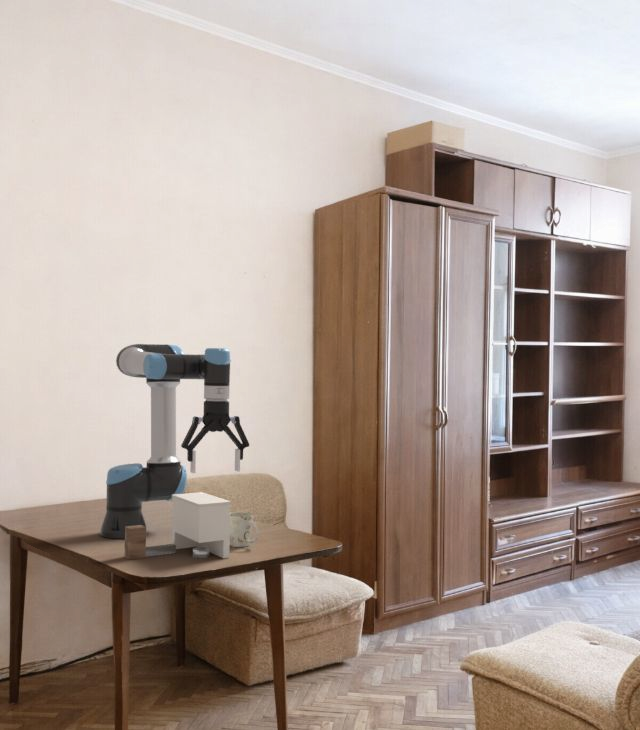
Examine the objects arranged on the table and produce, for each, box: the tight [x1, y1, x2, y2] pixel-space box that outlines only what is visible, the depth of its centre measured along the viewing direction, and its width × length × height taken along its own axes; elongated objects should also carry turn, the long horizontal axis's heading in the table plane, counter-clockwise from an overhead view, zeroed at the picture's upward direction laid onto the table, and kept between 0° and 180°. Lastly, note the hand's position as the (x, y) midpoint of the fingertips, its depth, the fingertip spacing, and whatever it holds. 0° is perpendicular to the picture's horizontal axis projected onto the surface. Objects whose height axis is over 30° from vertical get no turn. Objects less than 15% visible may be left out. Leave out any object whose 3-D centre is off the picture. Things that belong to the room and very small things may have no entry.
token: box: [192, 547, 210, 559], centre depth 237 cm, size 5×5×2 cm
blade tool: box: [124, 525, 177, 560], centre depth 237 cm, size 4×15×9 cm, turn 124°
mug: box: [230, 511, 259, 548], centre depth 251 cm, size 8×13×10 cm, turn 51°
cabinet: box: [171, 491, 232, 559], centre depth 241 cm, size 20×10×17 cm, turn 34°
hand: (215, 471), depth 233 cm, fingers open, 13 cm apart
